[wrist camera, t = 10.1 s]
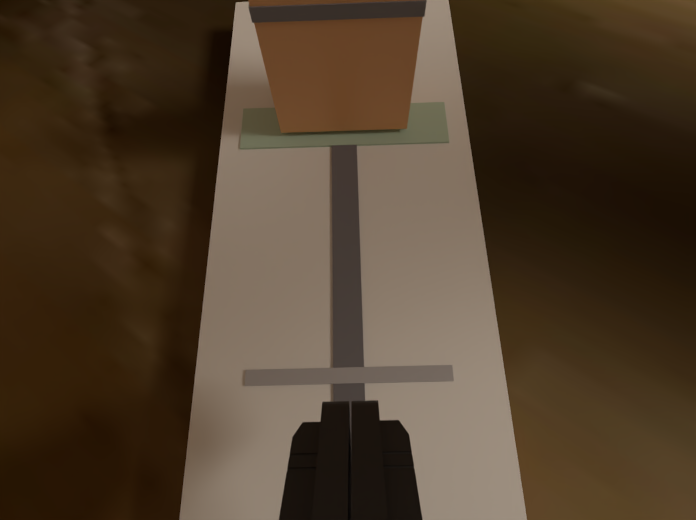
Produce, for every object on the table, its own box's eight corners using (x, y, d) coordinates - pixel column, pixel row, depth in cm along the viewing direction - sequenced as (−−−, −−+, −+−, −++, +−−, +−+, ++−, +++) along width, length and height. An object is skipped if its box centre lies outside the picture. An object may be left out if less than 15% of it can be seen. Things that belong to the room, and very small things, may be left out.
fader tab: (407, 129, 22) (432, -43, 14) (279, 133, 22) (237, -36, 14) (403, 76, 23) (424, -108, 16) (282, 80, 23) (245, -101, 16)
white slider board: (527, 644, 16) (551, 670, 14) (184, 649, 16) (160, 676, 14) (441, 25, 28) (447, -8, 26) (244, 32, 28) (235, 0, 26)
